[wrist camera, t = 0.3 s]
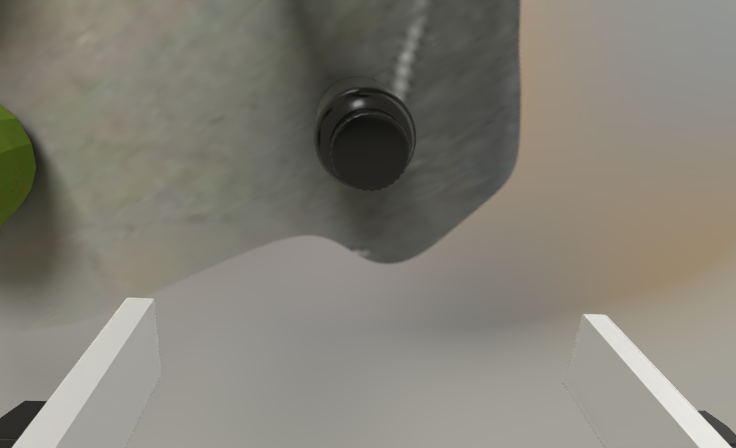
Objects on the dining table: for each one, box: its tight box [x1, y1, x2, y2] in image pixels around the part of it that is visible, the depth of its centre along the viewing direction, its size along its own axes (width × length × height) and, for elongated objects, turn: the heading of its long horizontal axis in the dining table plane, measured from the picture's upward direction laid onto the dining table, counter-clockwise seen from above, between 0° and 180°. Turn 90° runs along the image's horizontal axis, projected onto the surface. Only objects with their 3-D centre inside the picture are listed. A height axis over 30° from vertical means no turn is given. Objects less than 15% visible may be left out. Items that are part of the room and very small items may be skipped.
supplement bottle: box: [314, 76, 416, 191], centre depth 34 cm, size 7×7×12 cm
